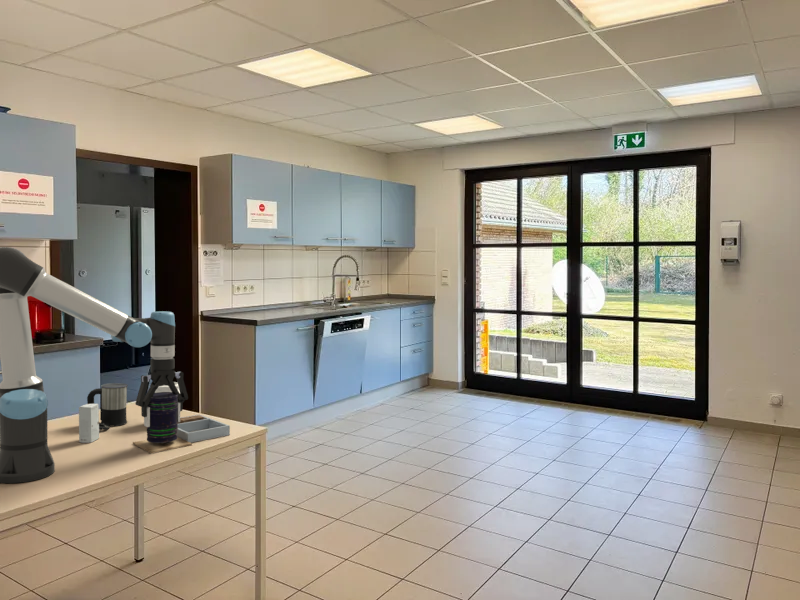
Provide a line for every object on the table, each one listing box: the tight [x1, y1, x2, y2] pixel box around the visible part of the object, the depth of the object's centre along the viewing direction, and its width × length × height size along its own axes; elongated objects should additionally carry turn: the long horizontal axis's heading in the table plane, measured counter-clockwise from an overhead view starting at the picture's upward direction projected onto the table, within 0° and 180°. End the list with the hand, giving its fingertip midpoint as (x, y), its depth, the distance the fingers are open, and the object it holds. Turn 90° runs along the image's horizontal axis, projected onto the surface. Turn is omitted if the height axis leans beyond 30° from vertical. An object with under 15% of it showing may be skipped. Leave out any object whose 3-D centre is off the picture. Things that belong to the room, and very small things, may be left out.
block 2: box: [188, 414, 204, 421], centre depth 232 cm, size 4×4×4 cm
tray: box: [177, 414, 231, 443], centre depth 225 cm, size 16×22×3 cm
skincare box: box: [78, 403, 100, 444], centre depth 212 cm, size 6×4×12 cm
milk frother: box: [86, 382, 129, 432], centre depth 230 cm, size 14×16×15 cm
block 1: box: [180, 416, 193, 423], centre depth 229 cm, size 4×4×4 cm
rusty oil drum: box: [146, 392, 178, 443], centre depth 208 cm, size 10×10×15 cm
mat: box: [132, 437, 193, 454], centre depth 209 cm, size 14×14×1 cm
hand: (162, 423), depth 209 cm, fingers closed on rusty oil drum, 10 cm apart
